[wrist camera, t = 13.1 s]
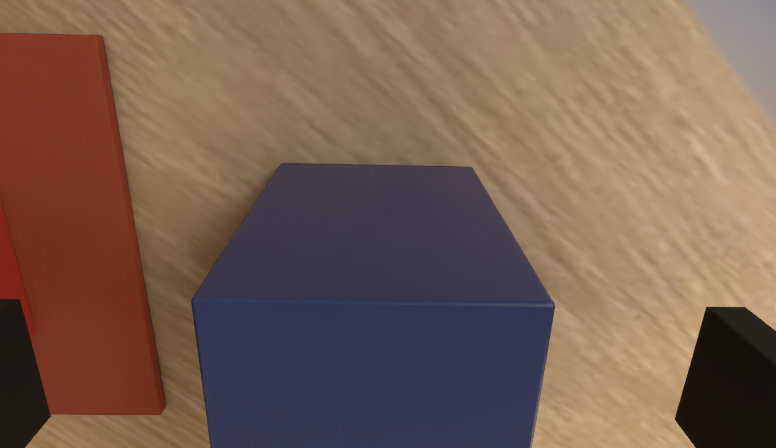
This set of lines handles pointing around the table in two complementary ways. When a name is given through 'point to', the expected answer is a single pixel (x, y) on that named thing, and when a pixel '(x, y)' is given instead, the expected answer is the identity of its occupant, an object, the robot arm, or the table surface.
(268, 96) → the table surface
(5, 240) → the red block
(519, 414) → the blue block
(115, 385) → the red mat
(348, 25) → the table surface
